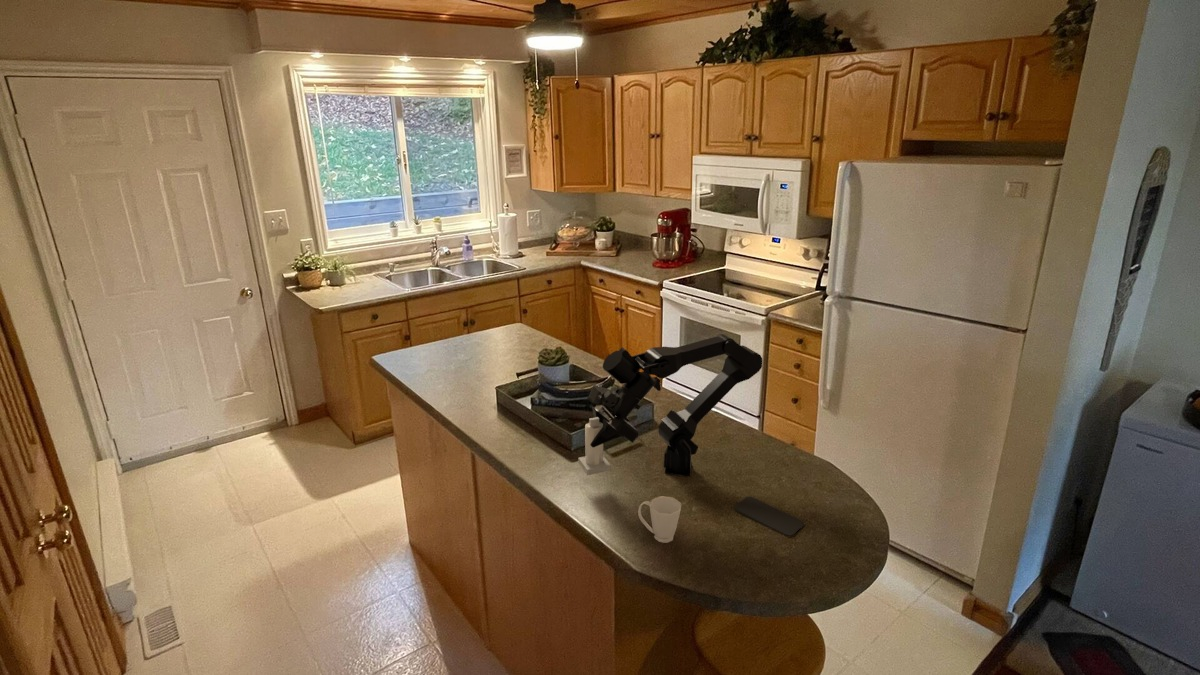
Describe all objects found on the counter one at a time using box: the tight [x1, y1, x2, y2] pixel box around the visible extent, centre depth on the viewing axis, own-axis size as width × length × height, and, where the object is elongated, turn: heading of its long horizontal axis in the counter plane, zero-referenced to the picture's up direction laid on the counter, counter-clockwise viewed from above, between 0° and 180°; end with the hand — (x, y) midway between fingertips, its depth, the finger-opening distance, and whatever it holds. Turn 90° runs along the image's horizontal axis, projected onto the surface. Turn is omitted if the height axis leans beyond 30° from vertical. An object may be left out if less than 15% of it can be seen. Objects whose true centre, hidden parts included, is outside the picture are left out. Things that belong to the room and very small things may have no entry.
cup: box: [637, 495, 682, 544], centre depth 137 cm, size 7×10×8 cm
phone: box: [733, 495, 805, 537], centre depth 144 cm, size 7×1×15 cm
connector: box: [577, 417, 612, 476], centre depth 151 cm, size 6×6×13 cm
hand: (588, 442), depth 150 cm, fingers closed on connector, 3 cm apart
